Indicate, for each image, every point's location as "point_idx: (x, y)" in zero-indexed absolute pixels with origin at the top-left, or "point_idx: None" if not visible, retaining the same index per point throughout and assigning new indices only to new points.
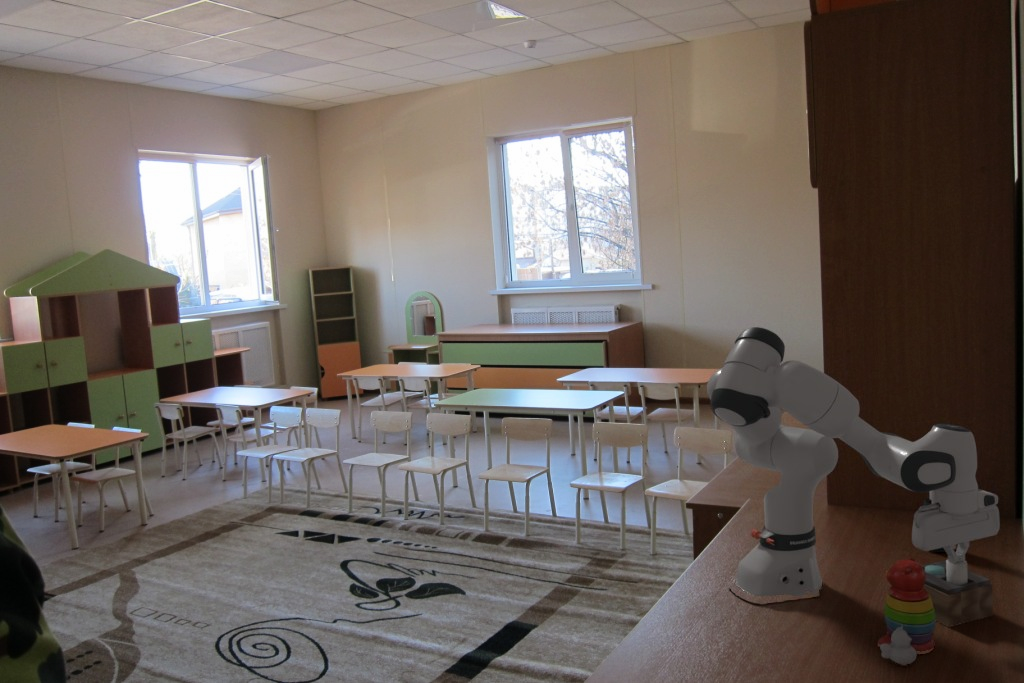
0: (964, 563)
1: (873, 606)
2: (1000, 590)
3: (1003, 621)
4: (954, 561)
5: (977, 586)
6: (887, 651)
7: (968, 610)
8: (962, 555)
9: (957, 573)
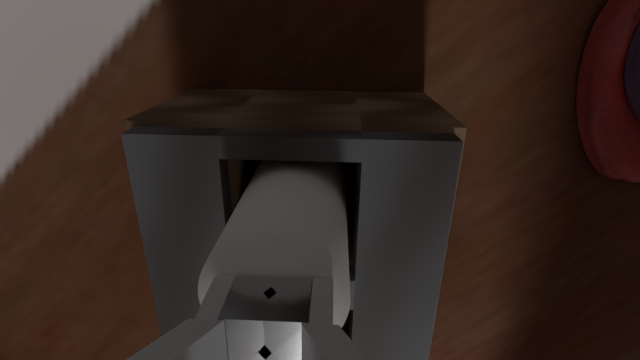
0: (245, 250)
1: (489, 325)
2: (31, 224)
3: (193, 27)
4: (330, 289)
5: (228, 130)
6: None
7: (315, 99)
8: (229, 312)
9: (327, 216)
